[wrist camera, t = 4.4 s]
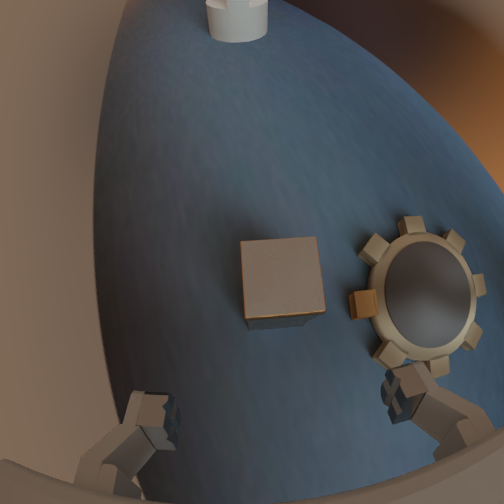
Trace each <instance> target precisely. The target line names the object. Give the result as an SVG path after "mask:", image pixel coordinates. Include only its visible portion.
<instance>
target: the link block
mask: <svg viewBox="0 0 504 504" xmlns="http://www.w3.org/2000/svg"><path fill="white" fill-rule="evenodd" d="M240 246H241V263H242V279H243V295H244V311H245V320H246V321H247V323H248V327H249V331H250V330H264V329H276V328H288V327H298V326H303V325H304V324H306V323H307V322H309V321H310V320H312V319H313V318H315V317H316V316H318V315H319V314H323V313H324V312H326V307H325V298H324V290H323V282H322V275H321V268H320V260H319V254H318V247H317V240H316V236H314V237H299V238H283V239H268V240H253V241H240Z"/></svg>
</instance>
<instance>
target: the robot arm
mask: <svg viewBox="0 0 504 504" xmlns="http://www.w3.org/2000/svg"><path fill="white" fill-rule="evenodd" d="M385 376H386V379H385V380H384V381H383V382H382V385H381V398H382V401H383V403H384V404H385V405H386V406H388V407H389V409H388V412H387V413H388V415H389V417H390V419H391V422H392V424H397V423H400V422H404V421H407V420H411V421H412V422H413V423H415V424H416V425H417V426H418V427H420V428H421V429H422V430H424V431H425V432H426V433H428V434H429V435H430V436H431V437H433V438H434V439H435V440H437V441H438V442H439V443H441V444H440V445H439V446H438V447H437V448H436V450H435V451H434V453H433V456H434V458H435V461H436V462H434V463H432V464H429V465H427V466H424V467H422V468H419V469H417V470H414V471H412V472H409V473H406V474H403V475H401V476H398V477H395V478H392V479H389V480H386V481H383V482H379V483H376V484H373V485H369V486H365V487H362V488H358V489H354V490H350V491H346V492H341V493H337V494H332V495H327V496H322V497H317V498H311V499H305V500H298V501H290V502H282V503H272V504H504V426H502V427H501V428H499V429H497V430H495V428H494V427H493V425H492V423H491V421H490V420H489V418H488V416H487V415H486V413H485V411H484V410H483V409H482V408H480V407H478V406H477V405H475V404H473V403H471V402H469V401H467V400H465V399H463V398H462V397H460V396H458V395H456V394H454V393H452V392H450V391H449V390H447V389H445V388H443V387H441V388H439V386H438V385H437V383H436V381H435V380H434V378H433V377H432V375H431V373H430V372H429V370H428V369H427V367H426V365H425V364H424V362H422V361H417V362H413V363H410V364H409V363H408V364H405V365H401V366H397V367H393V368H390V369H388V370H387V371H386V374H385ZM179 426H180V412H179V408H178V406H177V404H175V403H174V396H173V394H172V393H166V392H148V391H133V392H132V393H131V396H130V399H129V403H128V406H127V410H126V413H125V417H124V421H123V424H118V425H117V426H116V427H115V428H114V429H113V430H112V431H111V432H109V433H108V434H107V435H106V436H105V437H104V438H103V439H101V440H100V441H99V442H98V443H97V444H96V445H95V446H93V447H92V448H91V449H90V450H89V451H88V452H87V453H85V454H84V455H83V456H82V457H81V459H80V462H79V466H78V469H77V473H76V476H75V480H74V483H73V484H70V483H68V482H65V481H61V480H58V479H55V478H53V477H50V476H47V475H44V474H42V473H39V472H36V471H34V470H31V469H29V468H26V467H24V466H22V465H20V464H17V463H15V462H13V461H10V460H7V459H3V460H0V504H173V503H163V502H155V501H147V500H141V492H142V491H141V490H140V488H139V487H138V486H136V485H135V484H134V483H133V482H132V481H131V480H132V479H133V477H134V476H135V475H136V474H137V473H138V471H139V470H140V469H141V468H142V467H143V465H144V464H145V463H146V462H147V461H148V459H149V458H150V457H151V456H152V455H153V453H154V452H155V451H156V450H155V449H158V450H177V443H178V435H177V433H176V430H177V429H178V428H179Z"/></svg>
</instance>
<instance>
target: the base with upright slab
mask: <svg viewBox="0 0 504 504" xmlns="http://www.w3.org/2000/svg"><path fill="white" fill-rule="evenodd" d="M206 8H207V16H208V24H209V32H210V36H211V37H213V38H214V39H216V40H219V41H223V42H247V41H252V40H256V39H258V38H261V37H262V36H264V35H265V34H266V33H267V11H268V0H207V1H206Z"/></svg>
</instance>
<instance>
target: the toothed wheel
mask: <svg viewBox="0 0 504 504" xmlns="http://www.w3.org/2000/svg"><path fill="white" fill-rule="evenodd" d="M397 225H398V229H399V233H400V237H399V238H397V239H396V240H394V241H393V242H392V243H391V244H389V243H388V242H386V241H385V240H384V239H383V238H382V237H380V236H379V235H378V234H377V233H374V234H373V236H372V237H371V238H370V239H369V240H368V242H367V243H366V245H365V246H364V247H363V249H362V250H361V252H360V253H359V254H358V257H359V258H360V259H362V260H363V261H364V262H365V263H367V264H368V265H369V266H370V267H371V268H372V269H371V271H370V274H369V278H368V283H367V290H364V291H355V292H353V293H351V294H350V295H349V296H348V297H349V304H350V312H351V320H358V319H365V318H370V320H371V323H372V325H373V327H374V329H375V331H376V333H377V335H378V336H379V338H380V339H381V340H382V343H381V345H380V346H379V348H378V349H377V351H376V352H375V353H374V355H373V356H372V359H373V360H375V361H376V362H377V363H378V364H379V365H381V366H382V367H383V368H384V369H386V370H388V369H390V368H393V367H397V366H401V365H402V363H403V362H404V360H405V358H406V359H409V360H414V361H422V362H424V364H425V365H426V367H427V369H428V370H429V372H430V373H431V375H432V377H433V378H437V377H440V376H444V375H447V374H449V373H450V370H449V356H448V355H449V354H451V353H452V352H454V351H455V350H456V349H457V348H458V347H459V346H461V347H462V348H463V349H464V350H465V351H466V350H474V349H475V348H476V345H477V343H478V341H479V339H480V337H481V334H482V332H483V330H482V329H481V328H480V327H479V326H478V325H477V324H476V323H475V322H474V317H475V312H476V298H477V297H480V296H483V295H485V294H487V292H486V287H485V282H484V277H483V273H482V274H476V275H472V274H471V271H470V269H469V267H468V265H467V263H466V261H465V260H464V258H463V257H462V255H461V252H462V249H463V247H464V245H465V241H464V240H463V239H462V238H461V237H460V236H459V235H458V234H457V233H456V232H455V231H454V230H453V229H450V230H449V231H448V232H446V233H445V234H444V235H443V237H442V238H441V237H439V236H437V235H434V234H431V233H427V232H426V229H425V226H424V222H423V219H422V216H405V217H403V218H402V219H401V220H400V221H399V222H398V223H397Z"/></svg>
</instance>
